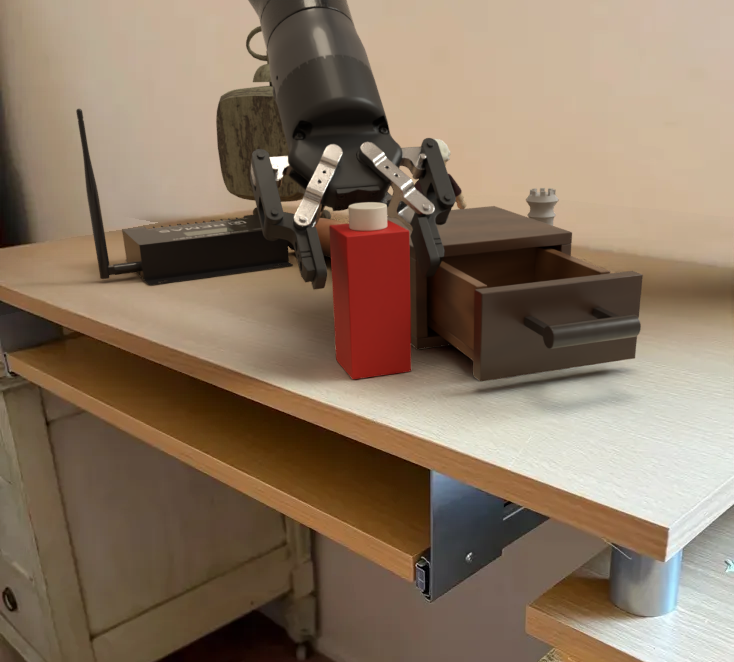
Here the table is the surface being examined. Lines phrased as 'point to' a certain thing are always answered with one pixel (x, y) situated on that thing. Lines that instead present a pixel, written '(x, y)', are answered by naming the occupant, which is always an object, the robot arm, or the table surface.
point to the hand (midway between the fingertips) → (377, 276)
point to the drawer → (533, 311)
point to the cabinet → (476, 252)
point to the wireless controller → (183, 243)
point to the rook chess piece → (542, 205)
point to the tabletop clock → (252, 134)
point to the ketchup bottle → (371, 292)
